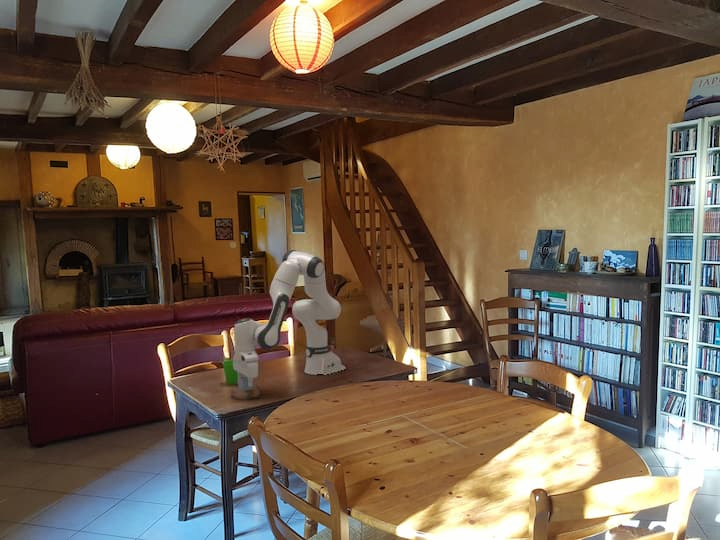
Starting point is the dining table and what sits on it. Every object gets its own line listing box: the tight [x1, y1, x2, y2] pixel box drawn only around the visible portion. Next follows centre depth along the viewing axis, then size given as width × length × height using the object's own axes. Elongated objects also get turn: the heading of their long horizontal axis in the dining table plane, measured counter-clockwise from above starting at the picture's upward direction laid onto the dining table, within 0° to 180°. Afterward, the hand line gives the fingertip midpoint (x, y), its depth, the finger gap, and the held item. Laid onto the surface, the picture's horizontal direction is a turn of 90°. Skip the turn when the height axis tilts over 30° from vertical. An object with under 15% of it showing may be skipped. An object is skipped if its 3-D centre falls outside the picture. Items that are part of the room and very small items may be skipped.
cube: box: [237, 376, 254, 391], centre depth 235 cm, size 5×5×5 cm
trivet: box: [230, 384, 261, 401], centre depth 235 cm, size 13×13×3 cm
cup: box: [221, 359, 239, 386], centre depth 253 cm, size 9×9×11 cm
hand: (245, 383), depth 235 cm, fingers open, 8 cm apart
